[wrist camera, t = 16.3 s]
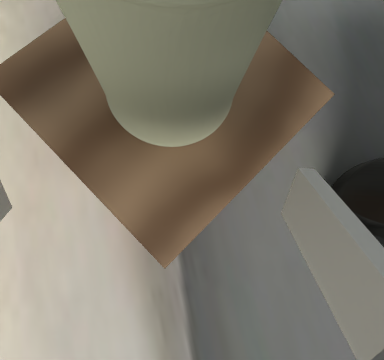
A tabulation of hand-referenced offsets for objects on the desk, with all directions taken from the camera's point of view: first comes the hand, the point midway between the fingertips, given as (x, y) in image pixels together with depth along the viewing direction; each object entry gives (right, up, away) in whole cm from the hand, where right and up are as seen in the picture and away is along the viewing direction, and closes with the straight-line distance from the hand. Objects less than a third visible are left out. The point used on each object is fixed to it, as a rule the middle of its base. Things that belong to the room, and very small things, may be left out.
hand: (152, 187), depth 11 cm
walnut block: (-1, +6, +15) cm, 16 cm away
